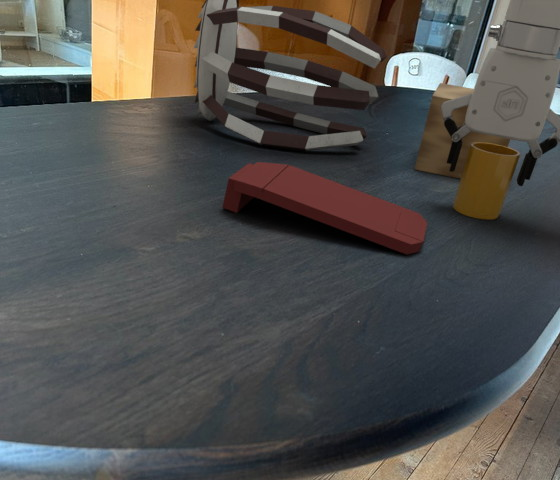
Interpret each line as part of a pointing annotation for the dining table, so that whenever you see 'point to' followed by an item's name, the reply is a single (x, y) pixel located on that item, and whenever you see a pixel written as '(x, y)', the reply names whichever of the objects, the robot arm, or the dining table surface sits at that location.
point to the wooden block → (447, 135)
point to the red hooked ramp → (327, 204)
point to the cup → (485, 180)
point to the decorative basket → (234, 69)
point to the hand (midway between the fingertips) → (485, 176)
